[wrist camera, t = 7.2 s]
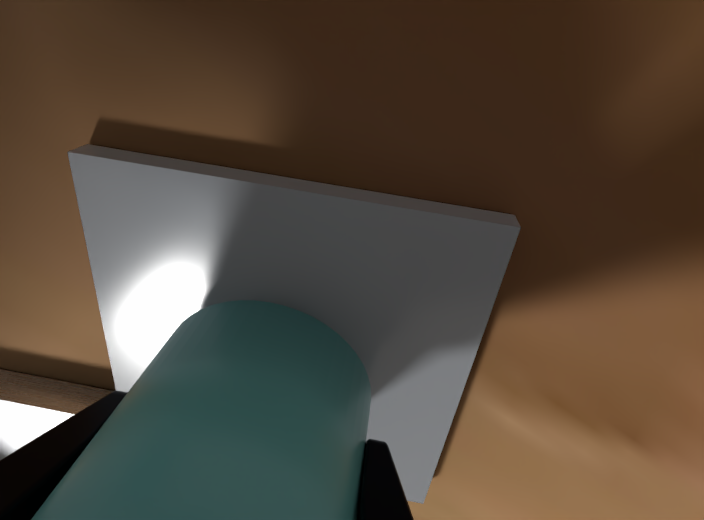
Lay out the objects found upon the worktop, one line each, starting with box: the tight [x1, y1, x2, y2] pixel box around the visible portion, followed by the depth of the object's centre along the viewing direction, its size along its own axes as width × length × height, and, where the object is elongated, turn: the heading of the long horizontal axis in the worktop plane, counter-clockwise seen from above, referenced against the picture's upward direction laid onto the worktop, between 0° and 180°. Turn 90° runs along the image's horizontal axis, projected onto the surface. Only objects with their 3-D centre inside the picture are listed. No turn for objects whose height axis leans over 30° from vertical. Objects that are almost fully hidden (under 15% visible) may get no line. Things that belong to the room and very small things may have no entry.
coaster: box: [68, 144, 521, 504], centre depth 11 cm, size 9×9×1 cm
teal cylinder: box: [31, 300, 371, 520], centre depth 8 cm, size 5×5×6 cm
